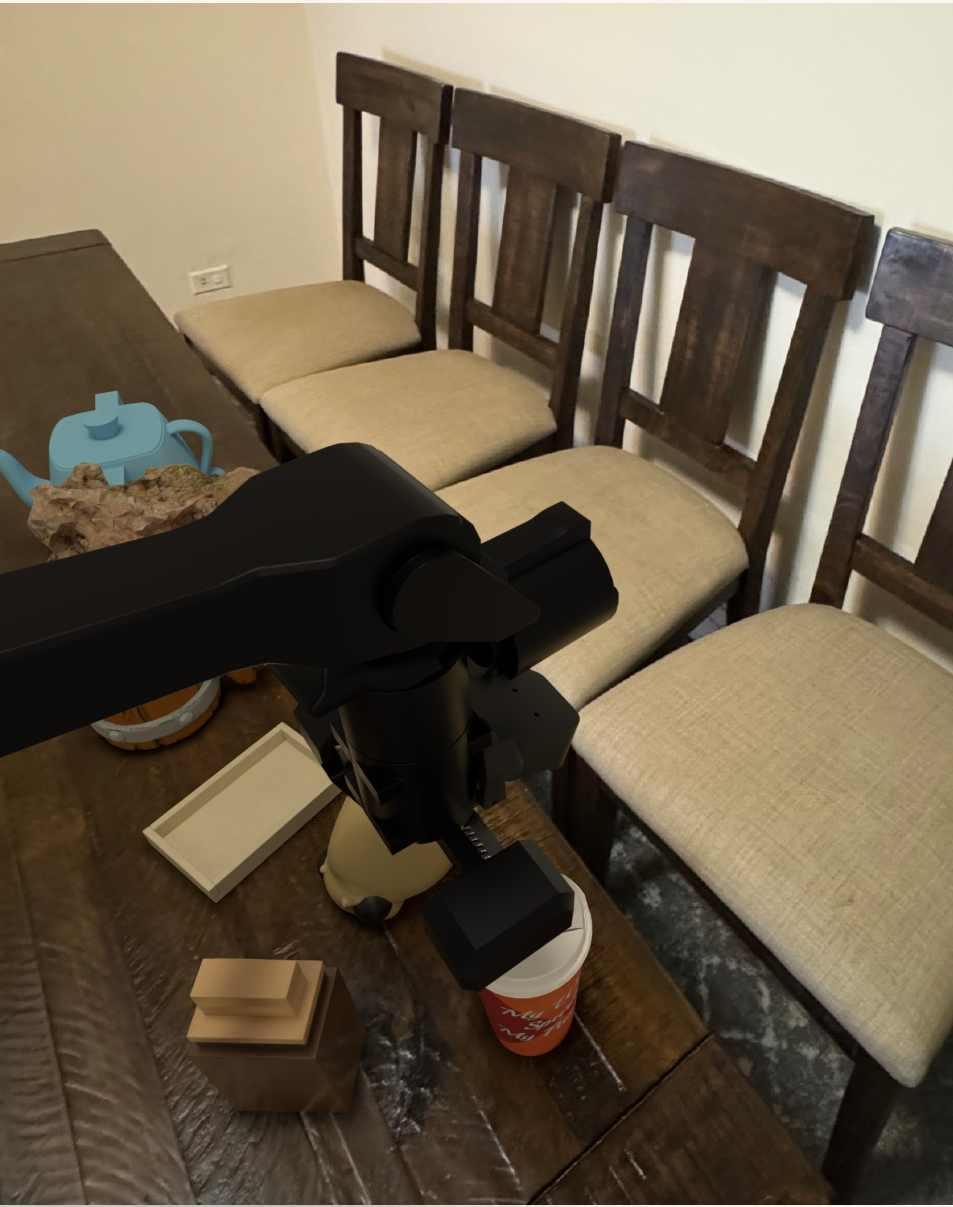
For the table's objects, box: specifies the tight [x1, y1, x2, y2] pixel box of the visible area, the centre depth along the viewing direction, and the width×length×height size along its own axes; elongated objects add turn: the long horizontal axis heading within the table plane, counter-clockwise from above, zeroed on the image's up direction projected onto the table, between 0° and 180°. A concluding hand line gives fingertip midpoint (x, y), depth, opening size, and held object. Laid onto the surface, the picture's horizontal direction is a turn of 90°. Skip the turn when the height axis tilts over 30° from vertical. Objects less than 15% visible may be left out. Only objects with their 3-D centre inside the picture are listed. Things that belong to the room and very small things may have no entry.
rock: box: [27, 462, 262, 562], centre depth 79 cm, size 25×8×15 cm, turn 117°
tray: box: [142, 721, 343, 904], centre depth 66 cm, size 13×8×2 cm, turn 145°
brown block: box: [186, 966, 367, 1114], centre depth 50 cm, size 7×5×10 cm
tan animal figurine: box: [316, 795, 479, 925], centre depth 61 cm, size 10×12×11 cm
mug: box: [90, 664, 265, 751], centre depth 70 cm, size 11×16×15 cm, turn 110°
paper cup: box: [478, 873, 593, 1057], centre depth 52 cm, size 8×8×14 cm
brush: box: [186, 957, 327, 1049], centre depth 45 cm, size 6×4×4 cm
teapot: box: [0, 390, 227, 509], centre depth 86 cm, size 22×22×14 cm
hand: (438, 885), depth 48 cm, fingers open, 9 cm apart
